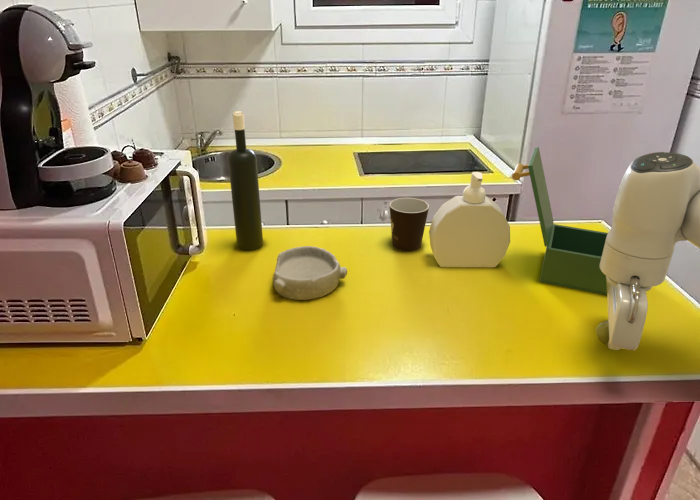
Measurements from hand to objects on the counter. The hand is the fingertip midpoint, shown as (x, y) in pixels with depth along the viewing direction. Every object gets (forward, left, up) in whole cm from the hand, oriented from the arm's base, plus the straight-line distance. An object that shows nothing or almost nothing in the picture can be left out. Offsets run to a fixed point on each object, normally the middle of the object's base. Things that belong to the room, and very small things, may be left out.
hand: (612, 337), depth 83 cm
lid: (+15, -24, +13) cm, 31 cm away
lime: (0, 0, -2) cm, 2 cm away
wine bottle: (+74, -8, -3) cm, 74 cm away
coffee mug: (+42, -24, -3) cm, 48 cm away
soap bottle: (+28, -20, -3) cm, 34 cm away
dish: (+55, +1, -3) cm, 55 cm away
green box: (+5, -24, -3) cm, 25 cm away
